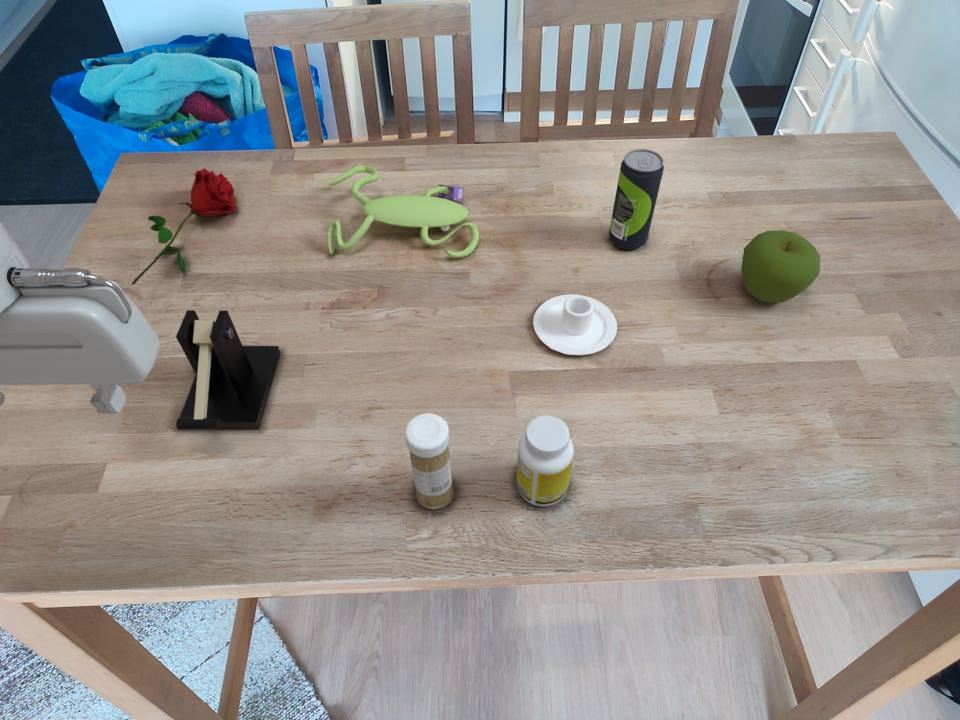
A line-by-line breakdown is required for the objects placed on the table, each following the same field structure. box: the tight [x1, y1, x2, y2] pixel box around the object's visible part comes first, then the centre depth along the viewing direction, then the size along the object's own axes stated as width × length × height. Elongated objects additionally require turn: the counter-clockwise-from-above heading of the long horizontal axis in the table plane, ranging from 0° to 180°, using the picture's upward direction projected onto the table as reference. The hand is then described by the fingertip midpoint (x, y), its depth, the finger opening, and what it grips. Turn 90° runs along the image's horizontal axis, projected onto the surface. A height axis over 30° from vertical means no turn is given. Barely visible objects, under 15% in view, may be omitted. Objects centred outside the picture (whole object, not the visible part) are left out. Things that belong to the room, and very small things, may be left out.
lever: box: [175, 319, 223, 431], centre depth 79 cm, size 13×5×2 cm
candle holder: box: [532, 293, 618, 356], centre depth 94 cm, size 12×12×4 cm
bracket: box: [175, 309, 281, 430], centre depth 84 cm, size 13×10×13 cm
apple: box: [740, 230, 821, 304], centre depth 96 cm, size 11×10×10 cm
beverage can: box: [608, 148, 665, 251], centre depth 102 cm, size 6×6×15 cm
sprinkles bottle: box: [404, 412, 455, 511], centre depth 73 cm, size 5×5×13 cm
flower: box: [131, 168, 237, 286], centre depth 105 cm, size 9×10×30 cm
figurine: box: [327, 165, 480, 259], centre depth 109 cm, size 18×27×6 cm
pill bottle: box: [516, 414, 575, 508], centre depth 74 cm, size 6×6×11 cm
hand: (52, 406), depth 50 cm, fingers open, 8 cm apart
